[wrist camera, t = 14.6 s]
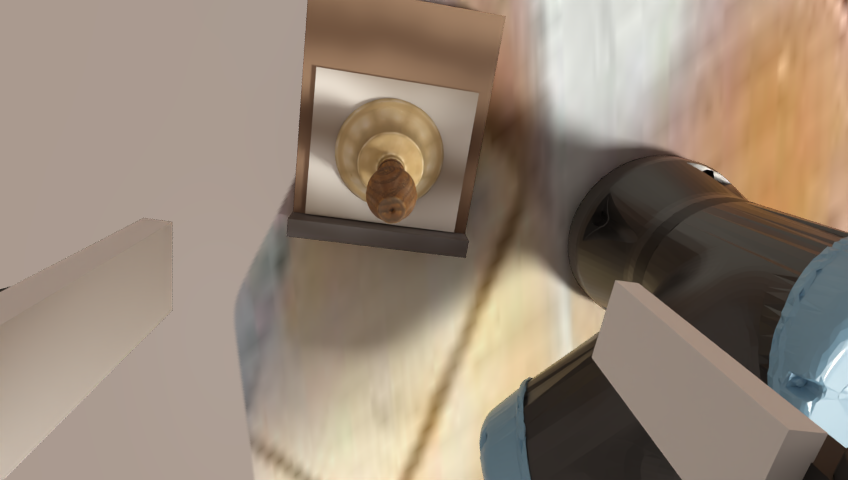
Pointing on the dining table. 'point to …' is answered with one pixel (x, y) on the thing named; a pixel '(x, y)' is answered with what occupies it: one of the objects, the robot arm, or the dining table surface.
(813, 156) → the dining table surface
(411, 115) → the hand bell
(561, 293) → the dining table surface
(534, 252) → the dining table surface
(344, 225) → the brown wooden display stand
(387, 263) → the dining table surface
